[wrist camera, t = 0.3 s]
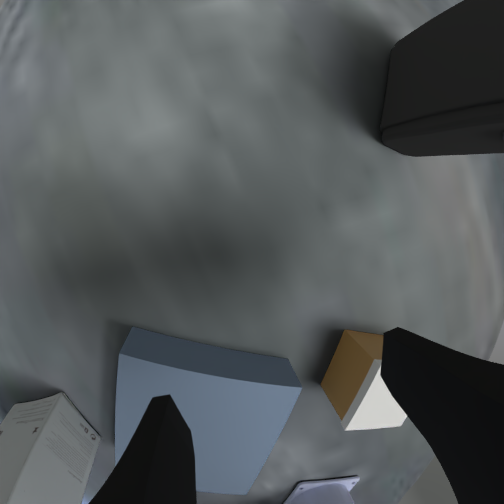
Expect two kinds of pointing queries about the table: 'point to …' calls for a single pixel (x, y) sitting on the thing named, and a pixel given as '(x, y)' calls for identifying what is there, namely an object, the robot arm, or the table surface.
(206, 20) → the table surface
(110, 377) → the table surface
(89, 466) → the skincare box
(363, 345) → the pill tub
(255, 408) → the box
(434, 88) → the card reader
